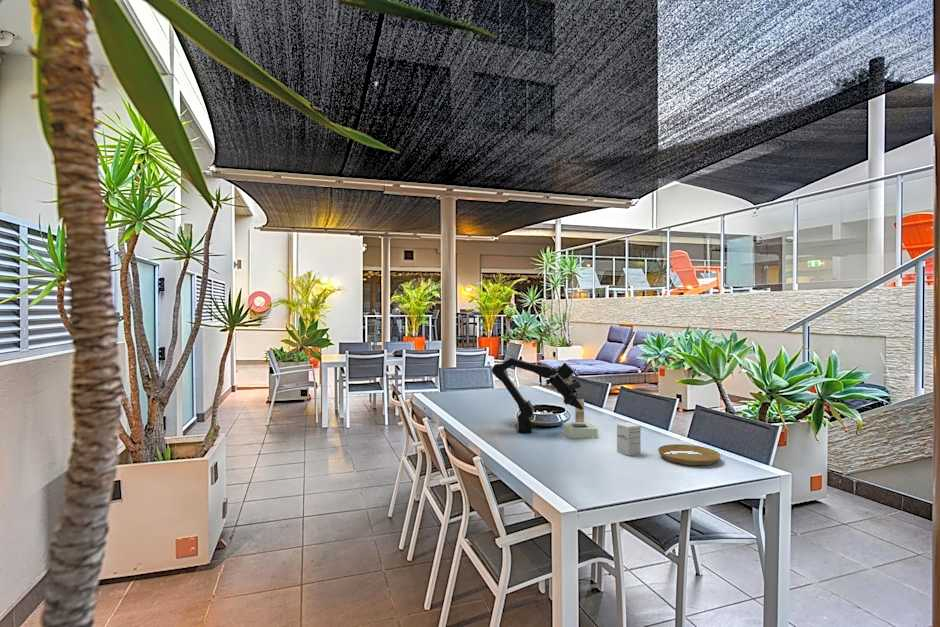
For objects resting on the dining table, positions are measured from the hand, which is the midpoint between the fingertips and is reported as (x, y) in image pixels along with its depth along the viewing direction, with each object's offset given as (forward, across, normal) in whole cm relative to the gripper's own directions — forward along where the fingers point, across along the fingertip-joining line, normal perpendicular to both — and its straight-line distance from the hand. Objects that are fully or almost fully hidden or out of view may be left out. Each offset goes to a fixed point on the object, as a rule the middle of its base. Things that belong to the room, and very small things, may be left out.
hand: (582, 408), depth 245 cm
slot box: (+8, 0, +10) cm, 14 cm away
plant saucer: (+41, -29, -22) cm, 55 cm away
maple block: (+4, 0, +6) cm, 7 cm away
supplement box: (+24, -26, -5) cm, 36 cm away
